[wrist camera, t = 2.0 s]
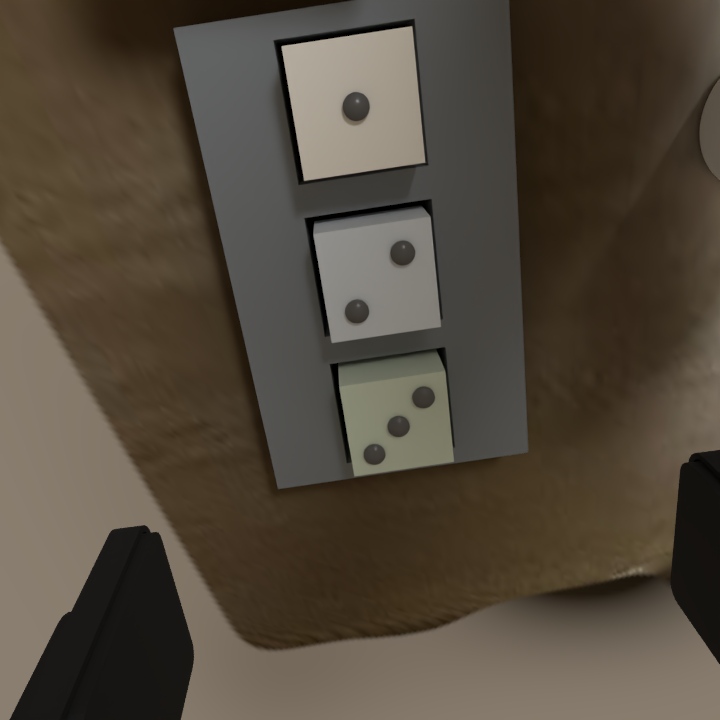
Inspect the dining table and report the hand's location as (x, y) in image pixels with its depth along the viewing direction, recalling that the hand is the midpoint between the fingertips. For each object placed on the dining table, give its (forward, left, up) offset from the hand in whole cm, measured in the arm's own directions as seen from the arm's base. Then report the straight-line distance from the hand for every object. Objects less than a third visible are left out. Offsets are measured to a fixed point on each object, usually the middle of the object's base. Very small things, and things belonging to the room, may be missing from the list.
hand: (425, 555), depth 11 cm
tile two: (-1, 0, -22) cm, 22 cm away
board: (-1, 0, -24) cm, 24 cm away
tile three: (-1, +8, -22) cm, 23 cm away
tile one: (-1, -7, -22) cm, 23 cm away
